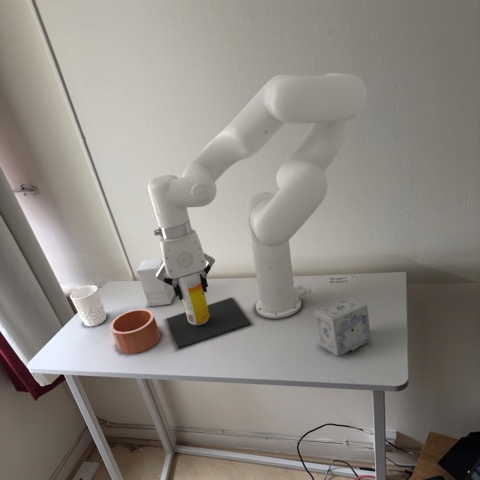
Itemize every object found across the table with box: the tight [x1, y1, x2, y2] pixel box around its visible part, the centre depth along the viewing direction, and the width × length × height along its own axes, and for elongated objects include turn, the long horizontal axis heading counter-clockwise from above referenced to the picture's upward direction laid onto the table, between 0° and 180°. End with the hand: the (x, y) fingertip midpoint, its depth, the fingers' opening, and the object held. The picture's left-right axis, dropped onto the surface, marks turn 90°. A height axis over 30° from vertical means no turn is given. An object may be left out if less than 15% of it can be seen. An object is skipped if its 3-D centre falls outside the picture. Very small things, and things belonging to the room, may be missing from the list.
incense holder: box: [314, 296, 372, 357], centre depth 96 cm, size 10×8×10 cm
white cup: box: [69, 284, 107, 327], centre depth 125 cm, size 8×8×10 cm
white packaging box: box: [136, 257, 175, 307], centre depth 129 cm, size 7×7×13 cm
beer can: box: [177, 272, 210, 325], centre depth 111 cm, size 6×6×15 cm
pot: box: [109, 308, 161, 355], centre depth 113 cm, size 12×12×6 cm
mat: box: [166, 297, 251, 350], centre depth 116 cm, size 20×16×1 cm
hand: (192, 293), depth 111 cm, fingers closed on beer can, 6 cm apart
